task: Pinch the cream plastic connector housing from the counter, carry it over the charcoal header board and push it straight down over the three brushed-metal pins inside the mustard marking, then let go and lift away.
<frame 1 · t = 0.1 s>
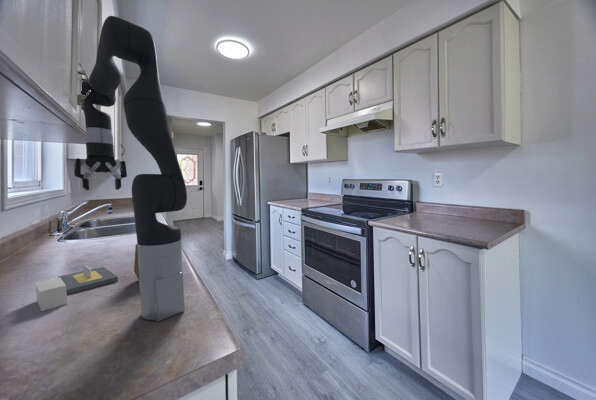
hand: (103, 189, 87), 29 cm above the counter, tool pointing down, fingers open, 8 cm apart
header board: (87, 281, 80), on the counter
connector housing: (51, 302, 66), on the counter
squeeze bottle: (149, 279, 81), on the counter
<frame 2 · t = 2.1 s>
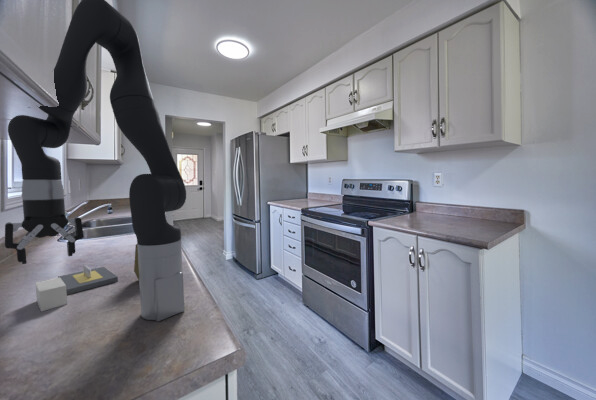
hand: (48, 259, 65), 12 cm above the counter, tool pointing down, fingers open, 8 cm apart
nothing on the counter moved.
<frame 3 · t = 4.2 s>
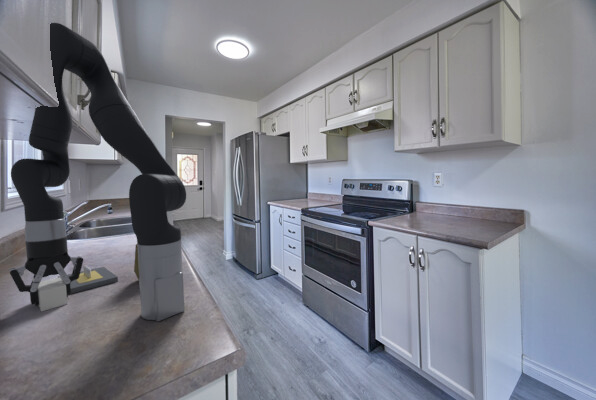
hand: (51, 300, 66), 1 cm above the counter, tool pointing down, fingers closed on connector housing, 4 cm apart
connector housing: (51, 302, 66), on the counter, touching gripper
everything else where it was.
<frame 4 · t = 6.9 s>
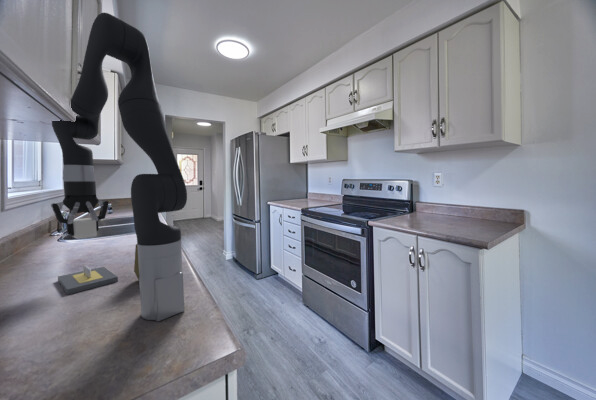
hand: (83, 234, 79), 15 cm above the counter, tool pointing down, fingers closed on connector housing, 4 cm apart
connector housing: (83, 235, 79), point 15 cm above the counter, touching gripper
everything else where it was.
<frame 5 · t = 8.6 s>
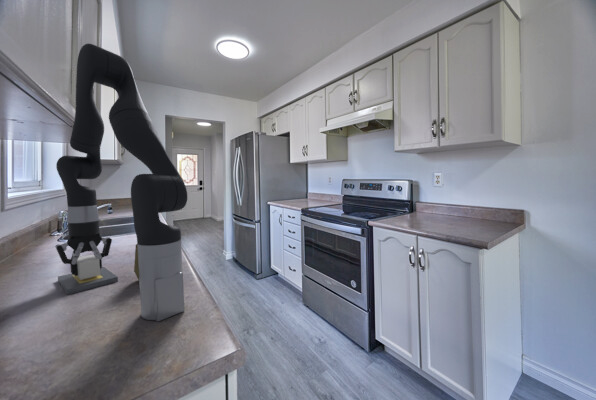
hand: (87, 272, 80), 3 cm above the counter, tool pointing down, fingers closed on connector housing, 4 cm apart
connector housing: (87, 274, 80), point 2 cm above the counter, touching gripper
everything else where it was.
when the fingers open (2 cm above the counter, at t = 9.8 s): connector housing stays where it is, resting on header board.
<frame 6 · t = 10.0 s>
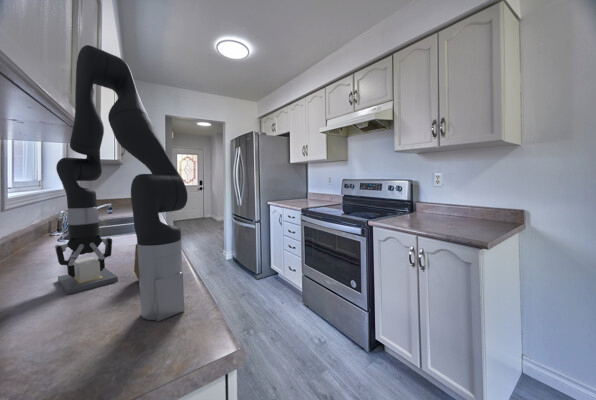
hand: (87, 273, 80), 3 cm above the counter, tool pointing down, fingers open, 6 cm apart
connector housing: (87, 276, 80), point 2 cm above the counter, touching header board
everything else where it was.
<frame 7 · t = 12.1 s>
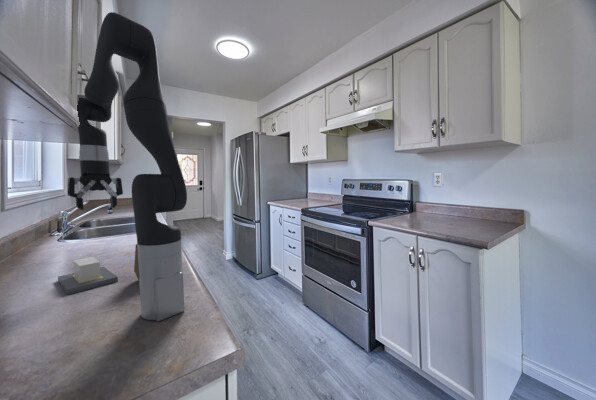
hand: (97, 208, 84), 23 cm above the counter, tool pointing down, fingers open, 8 cm apart
nothing on the counter moved.
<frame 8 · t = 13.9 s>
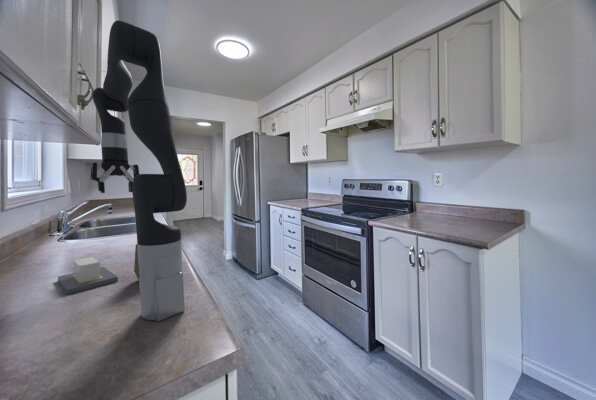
hand: (117, 192, 90), 28 cm above the counter, tool pointing down, fingers open, 8 cm apart
nothing on the counter moved.
at the end: connector housing 0.0 cm off-centre on the header board, point 1.6 cm above the header board's base; connector housing tilted 0°; the gripper is holding nothing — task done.
